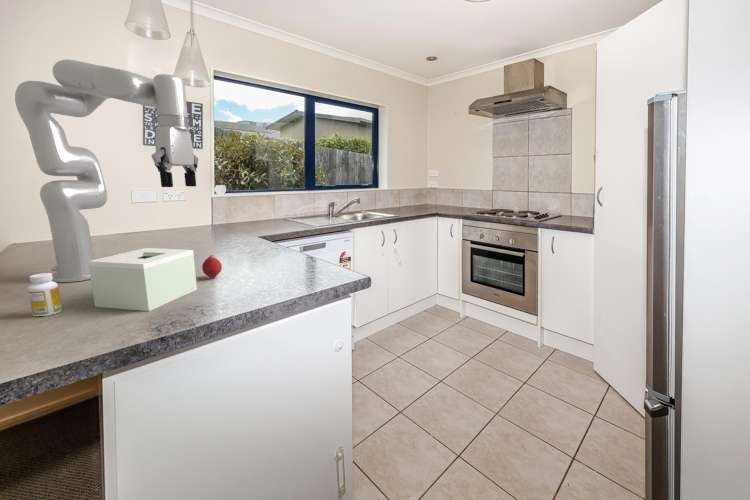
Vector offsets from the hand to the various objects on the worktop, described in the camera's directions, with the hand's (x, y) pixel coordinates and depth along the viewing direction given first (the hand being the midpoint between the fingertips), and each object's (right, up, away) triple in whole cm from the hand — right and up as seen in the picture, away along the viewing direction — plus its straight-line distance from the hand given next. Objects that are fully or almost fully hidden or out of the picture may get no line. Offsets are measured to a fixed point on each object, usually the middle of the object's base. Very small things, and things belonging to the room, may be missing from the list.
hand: (179, 186), depth 103 cm
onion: (+3, -28, +16) cm, 32 cm away
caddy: (-6, -31, -4) cm, 32 cm away
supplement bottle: (-24, -34, -15) cm, 44 cm away
